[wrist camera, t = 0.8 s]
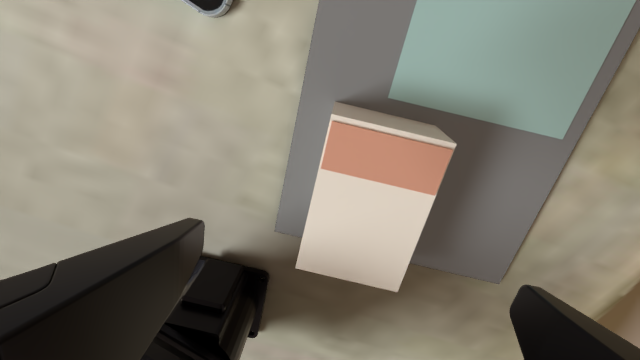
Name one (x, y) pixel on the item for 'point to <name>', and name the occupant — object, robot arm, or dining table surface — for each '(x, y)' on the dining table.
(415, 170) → the card box
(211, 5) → the smartphone
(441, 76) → the mat
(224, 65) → the dining table surface
